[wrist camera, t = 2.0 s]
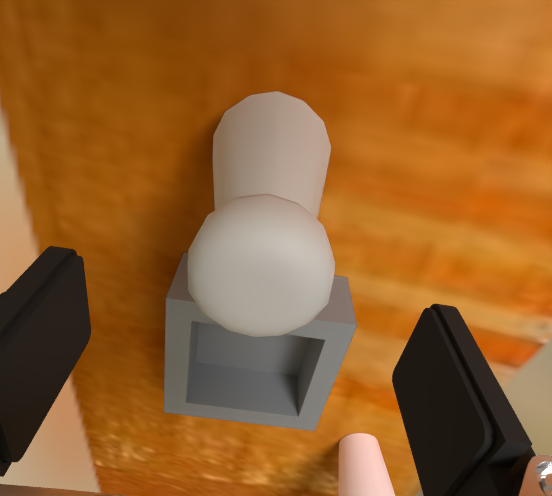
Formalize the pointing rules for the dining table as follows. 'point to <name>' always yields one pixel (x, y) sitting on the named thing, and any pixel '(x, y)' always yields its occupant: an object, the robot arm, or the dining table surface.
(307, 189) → the salt shaker
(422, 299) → the dining table surface
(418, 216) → the dining table surface
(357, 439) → the smoothie
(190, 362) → the socket holder
